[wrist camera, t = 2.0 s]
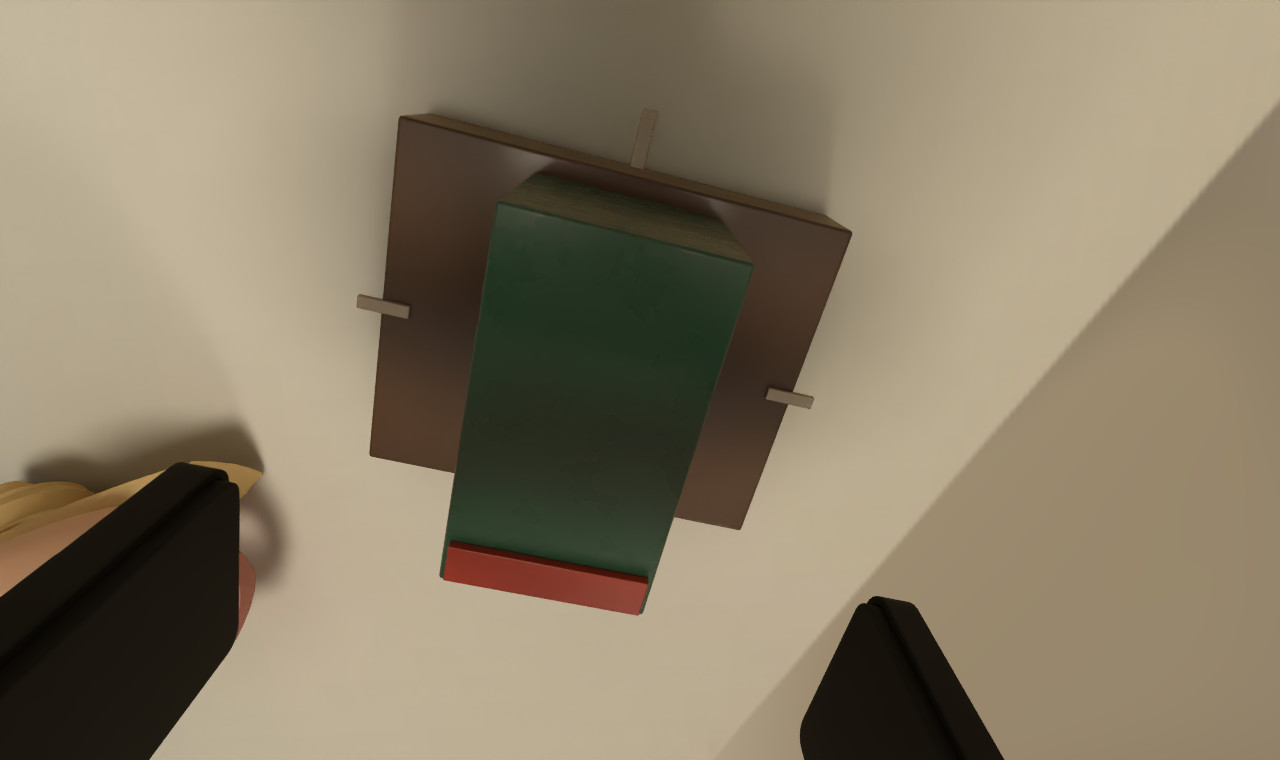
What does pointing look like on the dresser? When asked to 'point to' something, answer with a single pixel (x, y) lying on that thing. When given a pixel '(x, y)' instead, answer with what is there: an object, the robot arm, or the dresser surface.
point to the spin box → (587, 390)
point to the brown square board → (454, 275)
